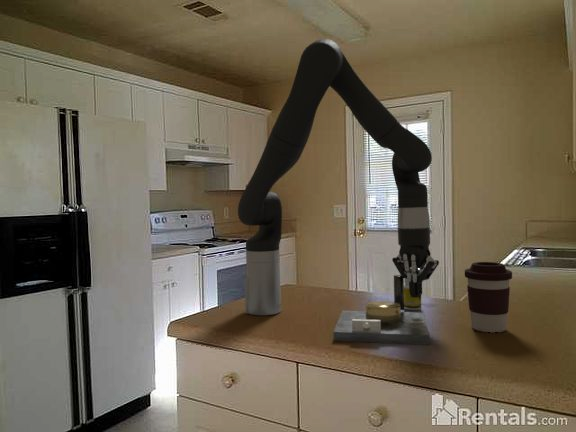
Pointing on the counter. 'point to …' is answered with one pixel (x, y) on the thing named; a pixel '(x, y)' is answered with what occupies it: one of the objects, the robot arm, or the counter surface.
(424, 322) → the stand
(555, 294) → the counter surface
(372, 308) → the cam capstan
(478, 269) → the coffee cup
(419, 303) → the supplement bottle
